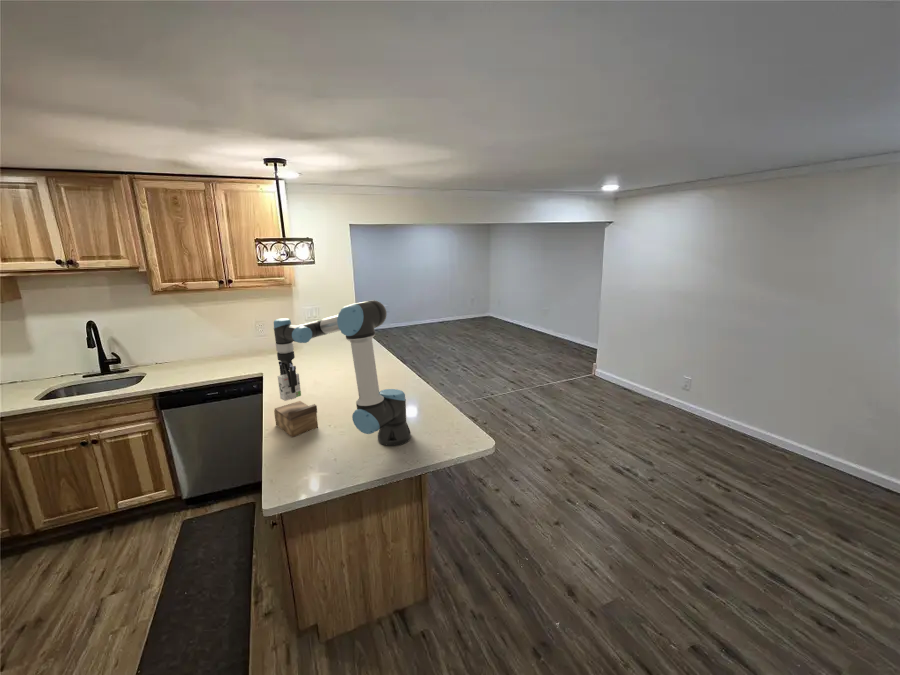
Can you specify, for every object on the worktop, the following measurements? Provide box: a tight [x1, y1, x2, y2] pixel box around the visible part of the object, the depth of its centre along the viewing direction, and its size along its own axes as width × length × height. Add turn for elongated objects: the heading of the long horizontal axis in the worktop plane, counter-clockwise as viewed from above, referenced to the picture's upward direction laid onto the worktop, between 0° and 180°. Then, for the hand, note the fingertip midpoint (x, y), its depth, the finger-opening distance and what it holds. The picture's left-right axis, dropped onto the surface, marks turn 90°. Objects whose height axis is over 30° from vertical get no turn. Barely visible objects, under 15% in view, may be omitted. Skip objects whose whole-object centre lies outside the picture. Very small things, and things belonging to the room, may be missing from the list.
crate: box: [273, 409, 319, 438], centre depth 196 cm, size 18×13×8 cm
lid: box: [274, 400, 318, 421], centre depth 194 cm, size 18×13×4 cm
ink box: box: [277, 372, 302, 402], centre depth 194 cm, size 9×5×12 cm, turn 139°
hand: (290, 396), depth 195 cm, fingers closed on ink box, 5 cm apart
